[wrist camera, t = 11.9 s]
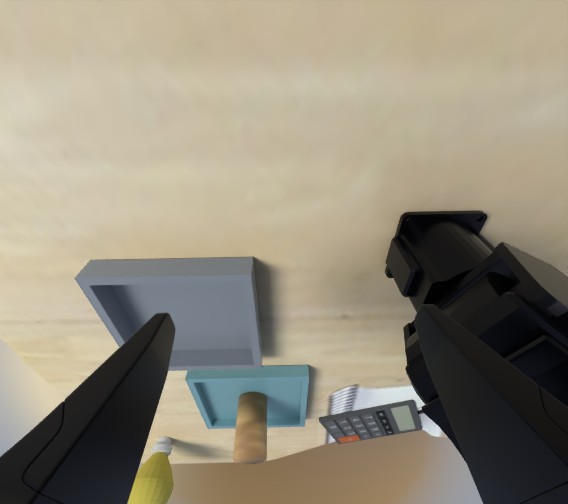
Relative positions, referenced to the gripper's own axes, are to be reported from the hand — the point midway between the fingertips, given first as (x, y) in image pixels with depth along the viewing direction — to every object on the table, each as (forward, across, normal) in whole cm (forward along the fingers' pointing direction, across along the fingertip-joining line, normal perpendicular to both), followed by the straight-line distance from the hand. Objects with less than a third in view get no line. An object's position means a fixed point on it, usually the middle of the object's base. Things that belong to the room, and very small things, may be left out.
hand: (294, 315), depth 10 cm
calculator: (+13, -13, +43) cm, 47 cm away
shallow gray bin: (+12, +10, +14) cm, 21 cm away
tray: (+12, +5, +32) cm, 34 cm away
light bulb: (+12, +23, +47) cm, 54 cm away
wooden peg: (+12, +5, +32) cm, 34 cm away
